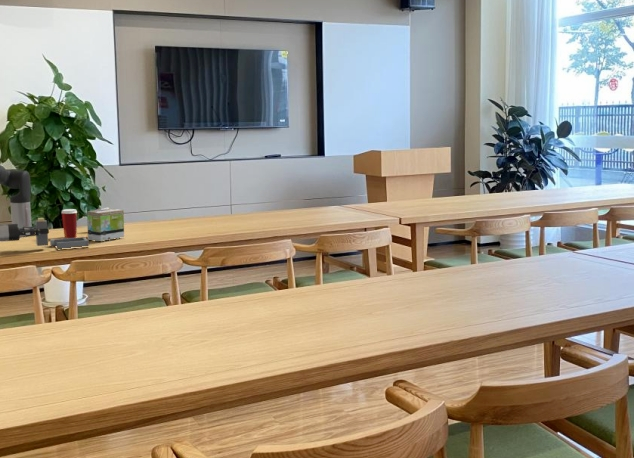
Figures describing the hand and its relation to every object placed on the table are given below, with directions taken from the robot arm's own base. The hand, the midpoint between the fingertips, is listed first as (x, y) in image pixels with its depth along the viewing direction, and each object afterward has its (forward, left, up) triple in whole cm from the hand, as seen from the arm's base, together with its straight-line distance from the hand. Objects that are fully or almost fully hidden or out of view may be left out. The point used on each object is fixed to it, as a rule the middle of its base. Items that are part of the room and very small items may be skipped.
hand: (47, 230), depth 313 cm
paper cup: (-28, +14, -9) cm, 32 cm away
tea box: (-14, +29, -9) cm, 33 cm away
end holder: (0, +10, -9) cm, 13 cm away
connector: (0, -3, -6) cm, 7 cm away
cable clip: (-7, +4, -9) cm, 12 cm away
